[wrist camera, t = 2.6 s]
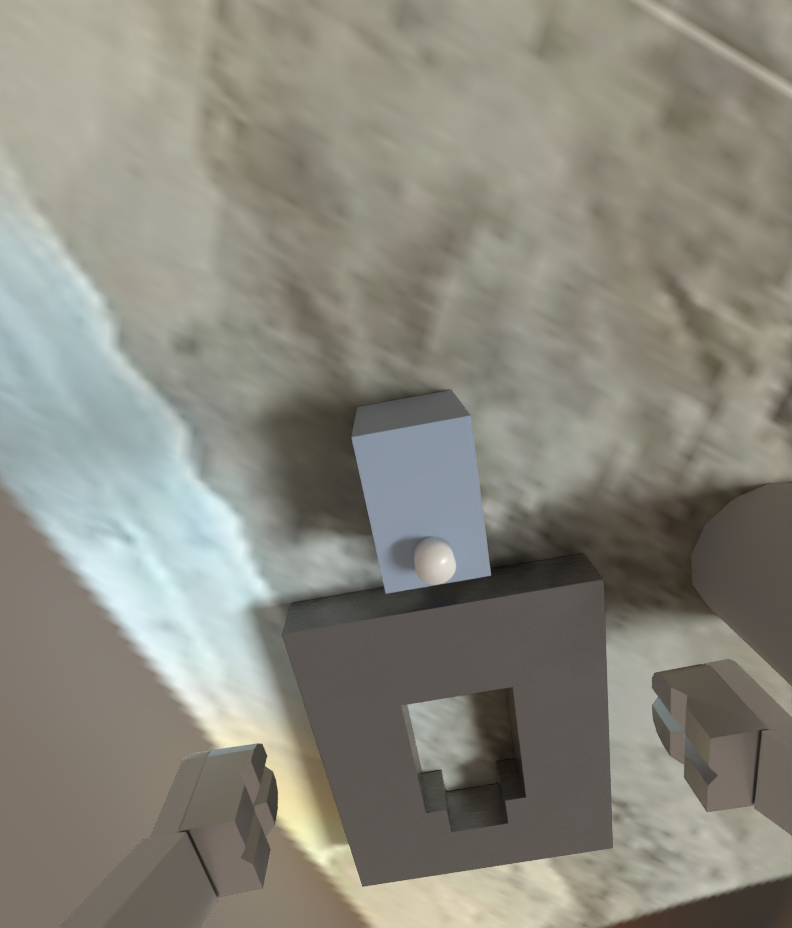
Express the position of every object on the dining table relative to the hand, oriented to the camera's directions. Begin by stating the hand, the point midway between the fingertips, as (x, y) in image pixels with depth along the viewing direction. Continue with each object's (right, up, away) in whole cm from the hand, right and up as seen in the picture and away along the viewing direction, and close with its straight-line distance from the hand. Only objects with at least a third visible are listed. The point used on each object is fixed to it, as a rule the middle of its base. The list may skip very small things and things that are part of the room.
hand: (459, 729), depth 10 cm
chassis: (+3, -10, +19) cm, 22 cm away
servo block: (0, +5, +14) cm, 15 cm away
